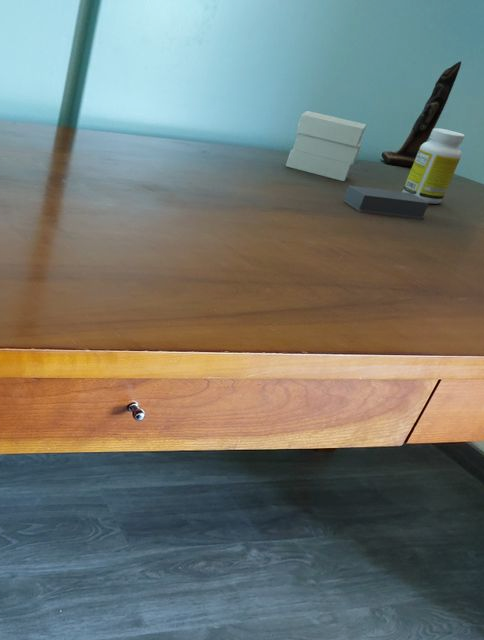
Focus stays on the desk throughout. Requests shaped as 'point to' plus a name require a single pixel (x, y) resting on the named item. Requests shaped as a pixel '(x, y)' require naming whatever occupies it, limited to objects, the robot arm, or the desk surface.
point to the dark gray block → (386, 202)
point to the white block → (331, 128)
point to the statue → (425, 120)
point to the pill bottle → (434, 166)
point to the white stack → (322, 156)
